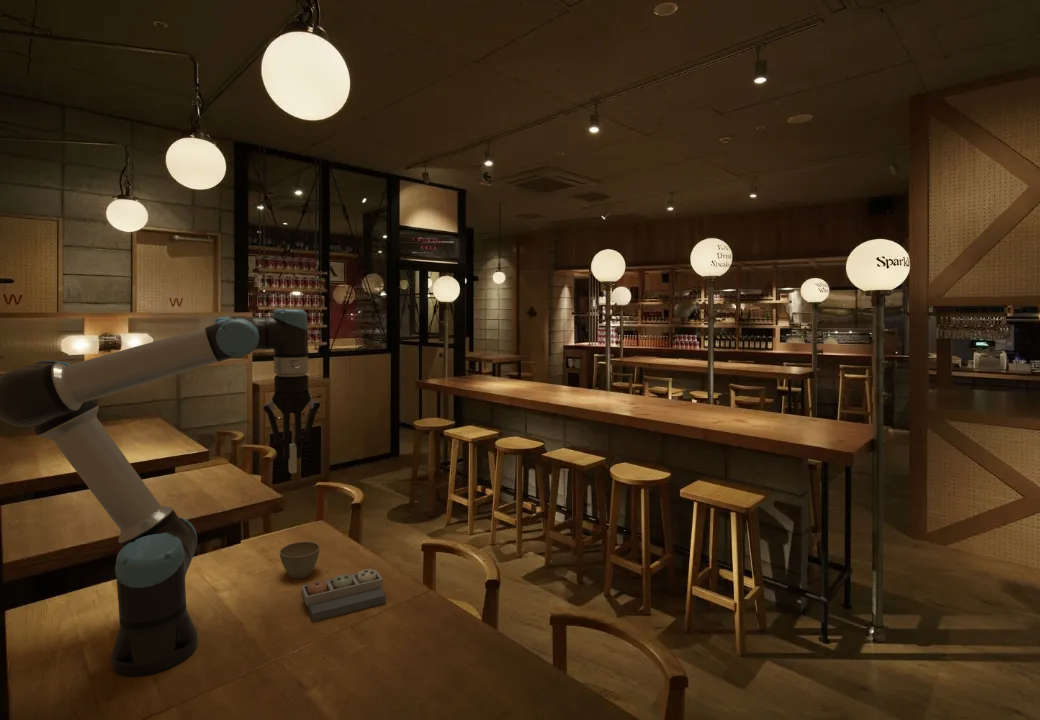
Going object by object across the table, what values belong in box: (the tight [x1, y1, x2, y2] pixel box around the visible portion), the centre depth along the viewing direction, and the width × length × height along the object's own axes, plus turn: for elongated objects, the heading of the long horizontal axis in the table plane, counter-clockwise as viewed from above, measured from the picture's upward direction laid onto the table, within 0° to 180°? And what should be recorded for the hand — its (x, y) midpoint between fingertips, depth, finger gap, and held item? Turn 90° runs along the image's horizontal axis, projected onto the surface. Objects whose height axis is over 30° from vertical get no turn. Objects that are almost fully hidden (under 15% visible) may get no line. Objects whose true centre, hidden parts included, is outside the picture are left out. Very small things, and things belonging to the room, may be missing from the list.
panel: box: [300, 568, 387, 623], centre depth 143 cm, size 18×15×4 cm
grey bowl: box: [279, 541, 321, 580], centre depth 154 cm, size 10×10×7 cm
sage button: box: [333, 573, 352, 590], centre depth 142 cm, size 4×4×3 cm
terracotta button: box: [307, 579, 327, 596], centre depth 139 cm, size 4×4×3 cm
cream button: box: [357, 568, 376, 584], centre depth 145 cm, size 4×4×3 cm
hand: (292, 471), depth 139 cm, fingers closed
